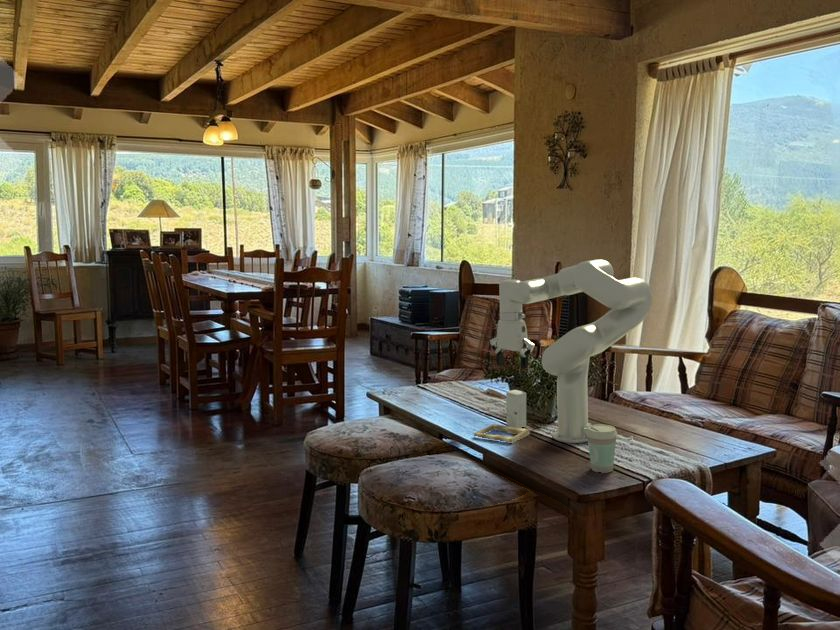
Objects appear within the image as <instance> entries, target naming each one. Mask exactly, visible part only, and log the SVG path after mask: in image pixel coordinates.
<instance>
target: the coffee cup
mask: <svg viewBox="0 0 840 630" xmlns="http://www.w3.org/2000/svg"><path fill="white" fill-rule="evenodd" d="M618 435H619V434H618V431H617V429H616V427H615V426H613V425H609V424H601V423H599V424H591V426H589V427H588V429H587V432H586V436H587V438H588V441H587V444H588V451H589V459H590V465H591V466H590V467H591V470H592V471H593V472H594V473H595V472H596V473H598V472H601V473H600V474H607V473H610V472H612V471H613V470H614V465H615V464H614V463H615V454H616V453H615V452H616V444H617V443H616V442H617V437H618Z"/></svg>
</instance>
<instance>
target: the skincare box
mask: <svg viewBox="0 0 840 630" xmlns="http://www.w3.org/2000/svg"><path fill="white" fill-rule="evenodd" d="M505 395H506V398H505V399H506V400H505V401H506V426H510V427H516V428H522V427H524V428H526V427H527V392H524V391H522V390H518V389H512V390H508V391H506V394H505Z"/></svg>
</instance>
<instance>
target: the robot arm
mask: <svg viewBox="0 0 840 630" xmlns="http://www.w3.org/2000/svg"><path fill="white" fill-rule="evenodd" d="M498 287H499V288H498V289H499V293H498V294H499V320H498V322H497V330H496V336H495V337H494V338H491V339H489V343H490V345H491V349H492V350H493V351H494V354H495V356H496V359H495V360H496V361H495V362H496V366H498V367H499V366H502V365H504V363H505V362H504V352H503V351H504V350H505V351H512V352H519V354H520V355H521V357H520V369H521V370H524V369H528V366H529V356H530V355H531V354H532V353H533V350H534V348H535V343H533V342H532V341H531V340H529V338H528V336H529V335H528V329H527V324H526V321H525V320H524V319H525V318H526V314H525V313H524V312H523V305H528V304H533V303H537V302H544V301H546V300H550V299H554V298H557V297H562V296H571V295H574V294H579V293H585V294H586V295H588V296H589V297H591V298H592V299H594V300H595V301H597V302H598V303H600V304H602V305H604V306H605V307H606V308H608V309H609V308H610V309H611V310H608V311H607V312H606V313H605V314H604V315H602V316H601V317H599V318H598V319H597V320H595V321H592V322H591V323H588V324H584V325H581V326H577V327H575V328H573V329H571V330H570V331H568V332H567V333H565V334H564V335H562V336H561V337H560V338H558V339H557V340H555V341H554V342H553V343H552V344H550V345H549V346H548V347H547V348H545V350H544V351H543V353H542V357H541V365H542V368H543V369H544V370H545V372H547V373H548V374H549V375H552V376H556V377H557V378H556V379H557V380H556V400H557V401H556V403H557V430H555V431H554V432H553V433H552V434H553V435H552V437H553V439H554V440H556V441H558V442H563V443H567V444H580V443H586V442H587V443H588V438H587V436H586V432H587V429H588V427H589V426H591V425H592V423H590V422H589V409H588V407H589V402H588V397H589V396H588V374H589V367H590V366H589V365H590V360H591V359H590V358H591V357H593V356H596V355H598V354H601V353H603V352H605V350H607V349H608V348H609V347H611V346H612V345H613V344H615V343H616V342H618V341H619V340H620V339H622V338H623V337H625V336H626V335H627V334H629V333H630V332H631V331H632V330H634V329H635V328H637V327H638V326H639V325H640V324H641V323H642V322H644V320H645V318H646V317H647V316H648V314H649V313H650V310H651V307H652V304H653V292H652V289H651V286H650V285H649V283H648V282H647V281H646V280H644V279H642V278H639V277H627V278H621V279H616V278H615V277H614V268H613V266H612V264H611V263H610V262H609V261H607V260H604V259H601V258H600V259H599V258H598V259H593V260H592V259H591V260H585V261H582V262H579V263H578V264H575V265H571V266H568V267H565V268H561V269H560V270H559V271H558V272H557V273H554V274H551V275H548V276H544V277H540V278H533V279H529V280H522V281H521V280H520V279H504V280H501V281H500V282H499V285H498Z"/></svg>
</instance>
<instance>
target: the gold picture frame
mask: <svg viewBox="0 0 840 630" xmlns="http://www.w3.org/2000/svg"><path fill="white" fill-rule="evenodd" d="M493 429H494V430H493ZM491 430H493V431H496V430H500V431H499V432H502V431H505V432H504V433H507V434H510V433H511V434H510V435H513V436H509V435H501V434H490V432H489V431H491ZM486 432H489V433H487V434H484V433H486ZM491 432H492V431H491ZM530 433H531V430H530V429H529V428H516V427H510V426H508V425H503V424H495V423H492V424H490V425H488V426H486V427H484V428H482V429H481V430H478V431H476V432H475V433H474V434H473V435H474V436H478V437H482V438H488V439H494V440H500V441H506V442H511V443H513V442H515V441H517V440H519V441H520V439H521V440H522V439H524V438H526V437H527V436H529V435H530ZM516 434H517V435H516ZM474 436H473V437H474ZM517 442H518V441H517ZM515 443H516V442H515Z"/></svg>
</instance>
